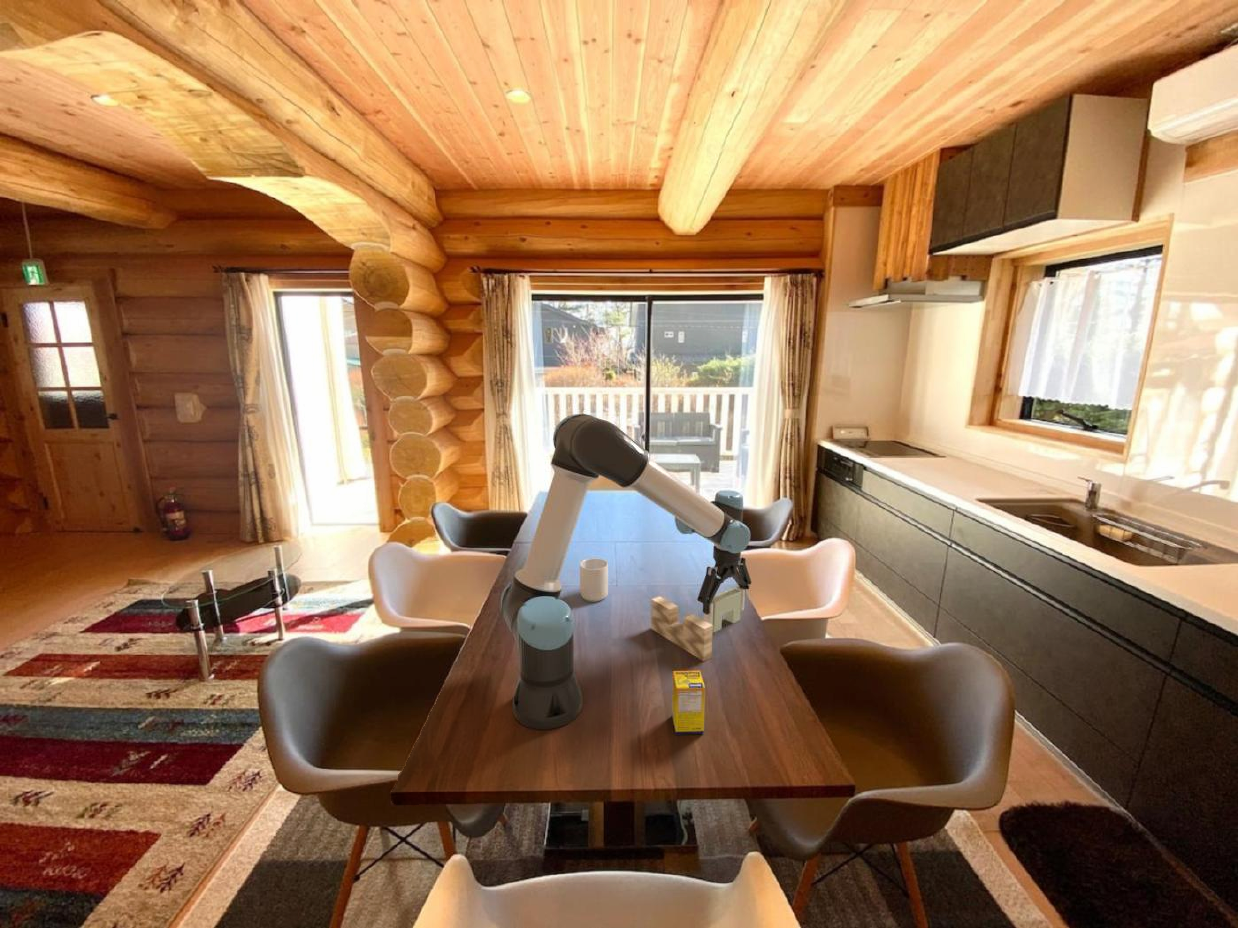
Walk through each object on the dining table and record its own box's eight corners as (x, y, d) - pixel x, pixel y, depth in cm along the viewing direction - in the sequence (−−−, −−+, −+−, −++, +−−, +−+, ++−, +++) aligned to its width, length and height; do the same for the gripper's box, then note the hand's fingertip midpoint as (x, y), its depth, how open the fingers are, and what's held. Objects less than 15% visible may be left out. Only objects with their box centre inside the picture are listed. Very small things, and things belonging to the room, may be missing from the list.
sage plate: (714, 632, 144) (715, 602, 142) (706, 627, 147) (707, 598, 145) (739, 620, 151) (741, 591, 149) (731, 616, 153) (733, 588, 151)
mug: (605, 603, 161) (605, 570, 158) (577, 601, 162) (577, 568, 159) (611, 586, 172) (611, 555, 170) (585, 585, 173) (584, 554, 171)
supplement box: (698, 714, 112) (700, 669, 109) (704, 734, 106) (706, 687, 103) (671, 715, 111) (672, 669, 109) (675, 735, 106) (676, 687, 103)
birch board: (711, 657, 133) (712, 625, 131) (703, 661, 131) (704, 629, 129) (658, 625, 148) (659, 596, 146) (651, 628, 146) (651, 599, 144)
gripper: (706, 561, 133) (703, 635, 138) (766, 539, 148) (762, 607, 153) (685, 552, 139) (683, 624, 144) (745, 532, 154) (741, 598, 159)
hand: (724, 615), depth 148 cm, fingers open, 13 cm apart
